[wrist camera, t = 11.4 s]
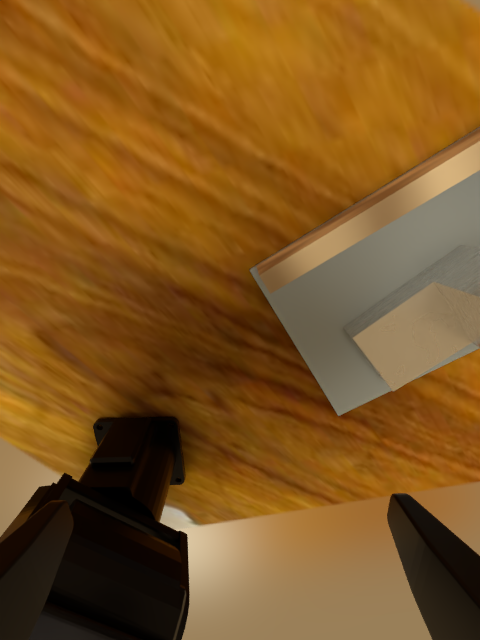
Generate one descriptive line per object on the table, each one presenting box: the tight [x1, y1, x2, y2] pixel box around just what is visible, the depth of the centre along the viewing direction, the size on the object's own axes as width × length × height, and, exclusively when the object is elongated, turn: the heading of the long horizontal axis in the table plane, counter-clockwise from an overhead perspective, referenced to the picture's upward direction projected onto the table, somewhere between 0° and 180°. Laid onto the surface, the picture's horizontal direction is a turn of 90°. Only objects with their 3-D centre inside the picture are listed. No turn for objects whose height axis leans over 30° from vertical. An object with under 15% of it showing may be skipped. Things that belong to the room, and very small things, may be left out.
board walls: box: [256, 129, 480, 294], centre depth 17 cm, size 15×10×4 cm, turn 122°
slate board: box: [249, 127, 480, 416], centre depth 19 cm, size 16×13×1 cm
